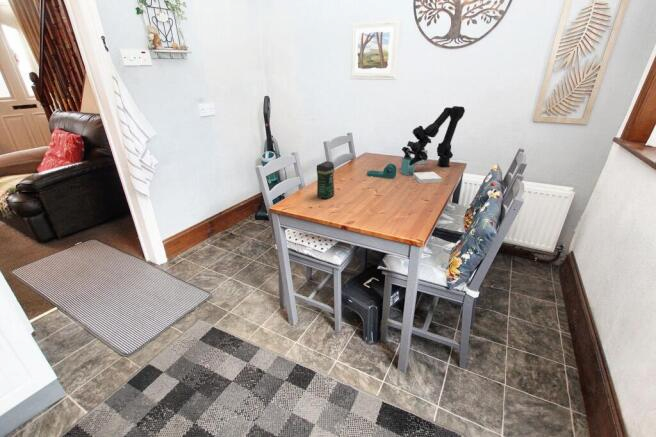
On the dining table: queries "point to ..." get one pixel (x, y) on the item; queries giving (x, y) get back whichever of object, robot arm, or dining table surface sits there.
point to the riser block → (427, 177)
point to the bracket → (384, 172)
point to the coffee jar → (325, 179)
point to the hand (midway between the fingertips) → (406, 163)
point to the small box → (422, 159)
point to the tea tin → (407, 166)
